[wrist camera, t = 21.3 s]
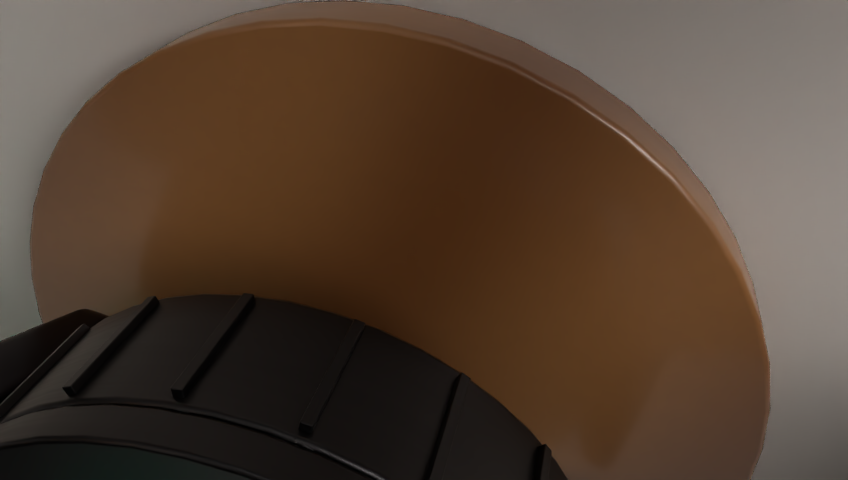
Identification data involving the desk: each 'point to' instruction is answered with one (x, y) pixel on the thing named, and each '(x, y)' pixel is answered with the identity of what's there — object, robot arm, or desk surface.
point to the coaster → (425, 222)
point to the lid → (255, 402)
